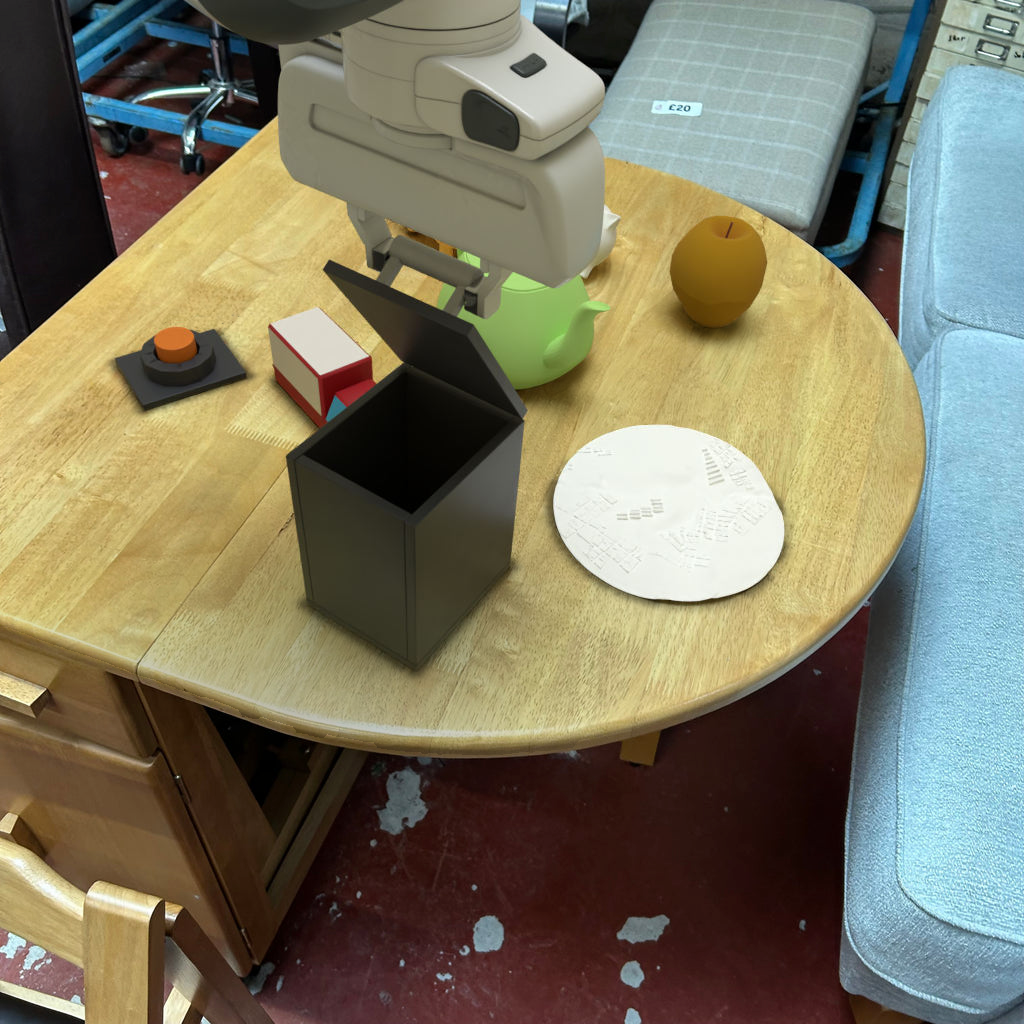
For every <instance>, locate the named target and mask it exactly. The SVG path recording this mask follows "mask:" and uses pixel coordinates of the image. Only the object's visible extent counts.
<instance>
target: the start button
mask: <svg viewBox="0 0 1024 1024" xmlns="http://www.w3.org/2000/svg"><path fill="white" fill-rule="evenodd" d="M190 330H191V329H190V328H187V327H183V326H170V327H165V328H164V329H161V330H160V331H158V332H157V333H156V334H155V335H156V336H155V335H154V336H155V338H154V343H155V347H156V351H157V355H158V358H159V359H160V360H161V361H162V362H165V363H182V362H185V361H189V360H191V359H192V358H194V357H195V356H196V354H197V347H196V343H195V338H194V334H193V333H192V331H190Z"/></svg>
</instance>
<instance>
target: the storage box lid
mask: <svg viewBox="0 0 1024 1024" xmlns="http://www.w3.org/2000/svg"><path fill="white" fill-rule="evenodd" d="M389 256H390V258H389V259H388V261H387V263H386V264H385V266H384V268H383V269H382V271H381V273H379V274H378V276H377V277H376V279H375V278H372V277H370V276H368V275H365V274H363V273H360V272H358V271H356V270H354V269H353V268H350V267H347V266H345V265H343V264H341V263H339V262H336V261H334V260H331V259H327V262H326V264H325V265H324V267H323V268H322V271H323V272H324V274H325V275H326V276H327V277H328V279H330V280H331V282H332V283H333V284H334V285H335V286H336V287H337V289H338V290H339V291H340V292H341V294H343V296H344V297H345V298H346V299H347V300H348V301H349V302H350V304H351V305H352V306H353V307H354V309H356V310H357V312H358V313H359V314H360V316H362V318H363V319H364V320H365V321H366V323H367V324H368V325H370V327H371V328H372V329H373V330H374V332H375V333H376V334H377V335H378V337H380V338H381V339H382V340H383V342H384V343H385V344H386V345H387V346H388V348H389V349H390V350H391V351H392V352H393V353H394V355H395V356H397V358H398V359H399V360H400V361H401V362H402V363H406V364H408V365H410V366H412V367H415V368H417V369H419V370H421V371H423V372H425V373H427V374H429V375H431V376H433V377H435V378H437V379H439V380H441V381H444V382H446V383H448V384H450V385H452V386H454V387H456V388H458V389H460V390H462V391H464V392H466V393H468V394H471V395H473V396H475V397H477V398H479V399H481V400H483V401H485V402H487V403H489V404H491V405H493V406H495V407H498V408H500V409H502V410H504V411H506V412H508V413H510V414H512V415H514V416H516V417H518V418H520V419H523V420H524V418H525V416H526V415H527V412H528V411H529V409H528V407H527V406H526V405H525V403H524V401H523V399H522V398H521V396H520V395H519V394H518V392H517V389H514V387H513V386H512V384H511V382H510V381H509V379H508V378H507V376H506V375H505V373H504V371H503V370H502V368H501V367H500V365H499V364H498V362H497V360H496V359H495V357H494V356H493V354H492V352H491V351H490V349H489V348H488V346H487V345H486V343H485V341H484V340H483V338H482V337H481V335H480V334H479V332H478V330H477V329H476V327H475V326H474V324H472V323H469V322H467V321H465V320H463V319H460V318H458V317H457V316H458V314H459V312H460V311H461V309H462V307H463V306H464V304H465V302H466V300H465V298H464V288H466V287H467V286H468V285H469V284H471V283H475V280H476V279H478V278H479V277H480V276H481V275H483V276H484V272H482V271H481V270H480V268H478V267H475V266H473V265H471V264H468V263H466V262H464V261H461V260H459V259H458V257H455V256H453V257H452V256H450V255H447V254H445V253H442V252H440V251H439V249H435V248H434V247H430V246H429V245H426V244H423V243H422V242H419V241H417V240H414V239H412V238H410V237H407V236H405V235H402V234H399V235H397V236H395V237H394V240H393V241H392V243H391V245H390V249H389ZM403 266H405V267H407V268H409V269H411V270H414V271H416V272H419V273H421V274H423V275H424V276H428V277H430V278H431V279H434V280H437V281H439V282H441V283H443V284H444V283H446V284H448V285H450V286H453V287H455V288H456V289H455V290H454V292H453V294H452V295H451V297H450V299H449V300H448V302H447V304H446V305H445V307H444V309H443V310H441V309H438V308H436V306H434V305H431V304H429V303H427V302H425V301H423V300H420V299H419V298H416V297H414V296H412V295H410V294H407V293H405V292H402V291H400V290H399V289H396V288H394V287H391V286H392V284H393V283H394V281H395V280H396V278H397V277H398V275H399V273H400V271H401V270H402V268H403Z"/></svg>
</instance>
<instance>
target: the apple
mask: <svg viewBox="0 0 1024 1024" xmlns="http://www.w3.org/2000/svg"><path fill="white" fill-rule="evenodd" d="M766 251H767V250H766V248H765V244H764V241H763V239H762V237H761V235H760V233H759V232H758V230H756V229H755V228H754V227H753V225H751V223H748V222H747V221H745V220H744V219H742V218H738V217H734V216H728V215H712V216H709V217H705V218H703V219H702V220H701V221H699V222H698V223H697V224H695V225H694V226H692V228H691V229H689V230H688V232H687V233H686V234H685V235H684V236H683V237H682V238H681V239H680V240H679V241H678V242H677V244H676V246H675V248H674V250H673V252H672V254H671V258H670V266H669V276H670V281H671V286H672V290H673V292H674V293H675V295H676V297H677V299H678V300H679V303H680V304H681V307H683V310H684V311H685V313H686V314H687V315H688V316H689V317H690V318H691V319H692V320H693V321H694V322H696V323H697V324H698V325H700V326H702V327H705V328H722V327H723V328H724V327H726V326H728V325H730V324H733V323H734V322H735V321H736V320H738V319H739V318H740V317H741V316H742V315H743V314H745V313H746V311H749V309H750V308H751V306H752V305H753V303H754V302H755V300H756V299H757V297H758V295H759V293H760V291H761V290H762V287H763V284H764V279H765V276H766V271H767V266H768V258H767V252H766Z"/></svg>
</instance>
